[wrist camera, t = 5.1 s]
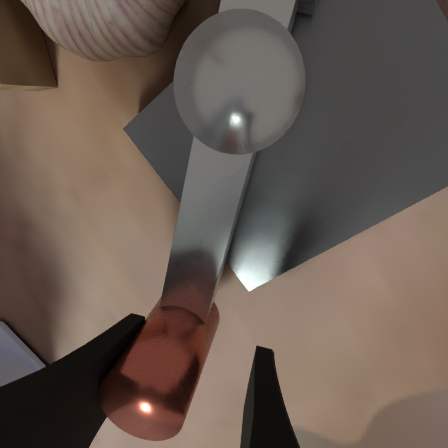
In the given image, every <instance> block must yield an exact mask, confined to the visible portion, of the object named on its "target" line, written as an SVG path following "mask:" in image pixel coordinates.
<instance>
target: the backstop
mask: <svg viewBox="0 0 448 448" xmlns="http://www.w3.org/2000/svg"><path fill="white" fill-rule="evenodd" d="M51 88H57V84H56V80H55V76H54V72H53V69H52V65H51V61H50V57H49V54H48V50H47V46H46V43H45V39H44V35H43V31H42V28H41V27H40V25H39V24H38V22H37V21H36V19H35V18H34V16H33V15H32V13H31V12H30V10H29V9H28V8H27V7H26V6H25V5H24V3H23V2H22V1H21V0H0V90H27V91H38V90H44V89H51Z"/></svg>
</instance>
